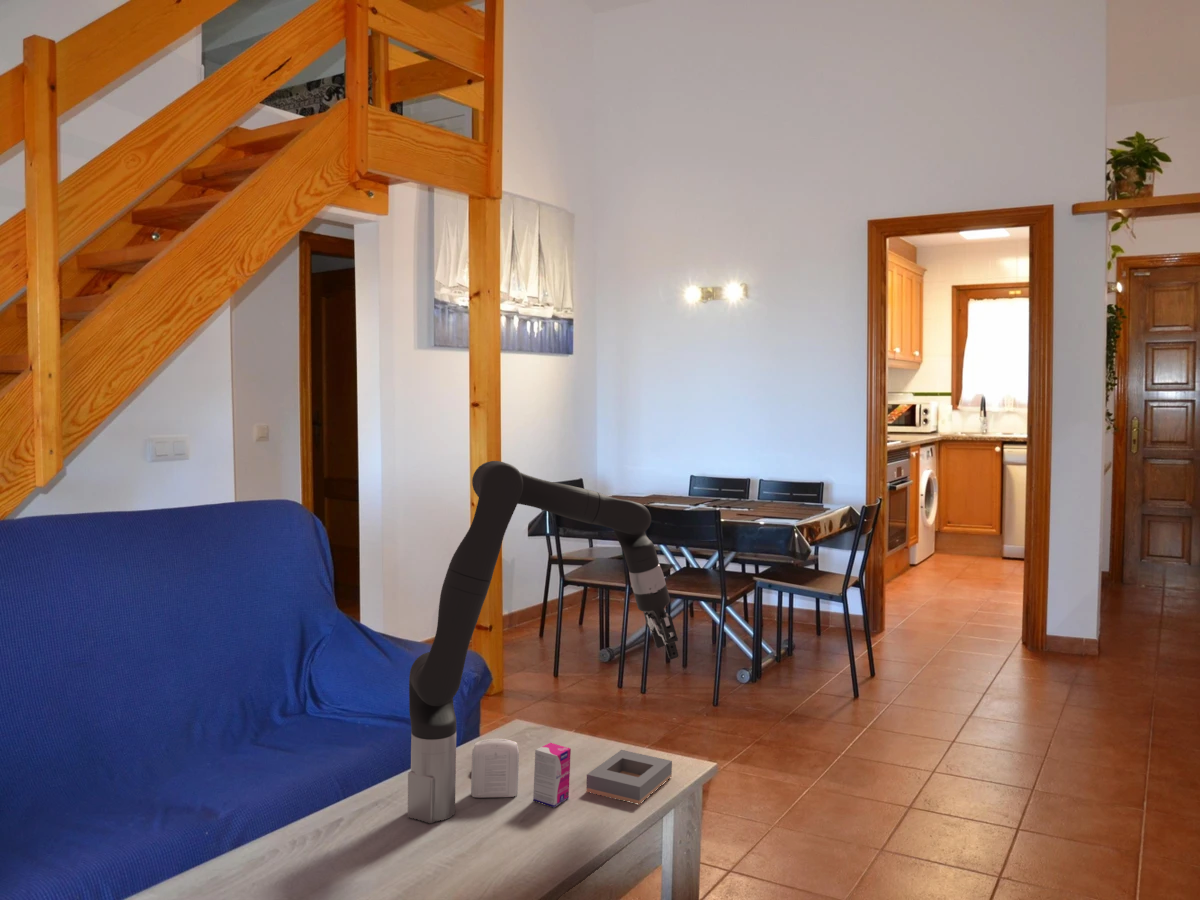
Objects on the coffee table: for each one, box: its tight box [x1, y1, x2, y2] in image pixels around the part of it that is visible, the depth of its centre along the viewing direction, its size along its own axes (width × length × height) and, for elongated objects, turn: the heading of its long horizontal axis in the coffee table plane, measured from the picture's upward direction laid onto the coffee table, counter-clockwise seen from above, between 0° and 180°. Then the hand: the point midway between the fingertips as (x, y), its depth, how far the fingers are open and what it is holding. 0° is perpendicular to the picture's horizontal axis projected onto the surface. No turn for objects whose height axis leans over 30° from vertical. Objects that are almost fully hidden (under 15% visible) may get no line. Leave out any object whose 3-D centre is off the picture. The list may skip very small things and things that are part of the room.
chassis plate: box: [585, 749, 673, 805], centre depth 219 cm, size 17×13×4 cm
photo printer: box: [470, 738, 520, 798], centre depth 212 cm, size 10×4×12 cm, turn 98°
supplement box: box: [532, 742, 572, 808], centre depth 210 cm, size 6×6×12 cm
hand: (667, 652), depth 220 cm, fingers open, 8 cm apart
